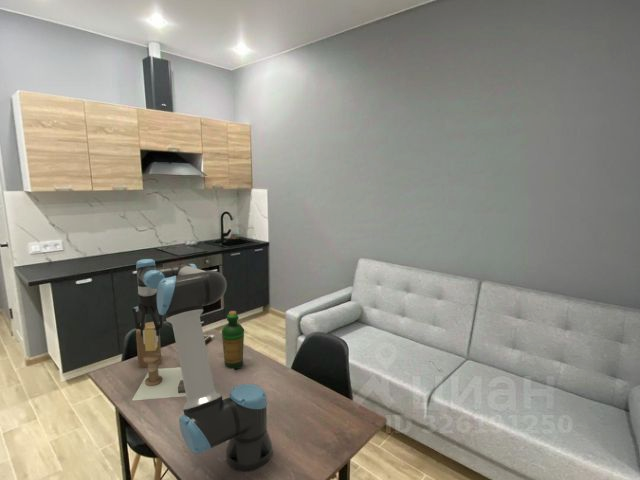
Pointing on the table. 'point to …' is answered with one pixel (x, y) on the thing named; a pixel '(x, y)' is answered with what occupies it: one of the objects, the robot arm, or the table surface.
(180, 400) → the table surface
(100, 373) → the table surface
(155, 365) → the bobbin
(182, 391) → the notch board
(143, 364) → the wooden block
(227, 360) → the bottle
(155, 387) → the board
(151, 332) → the yellow rectangular block
